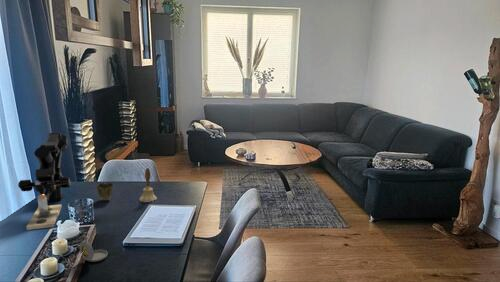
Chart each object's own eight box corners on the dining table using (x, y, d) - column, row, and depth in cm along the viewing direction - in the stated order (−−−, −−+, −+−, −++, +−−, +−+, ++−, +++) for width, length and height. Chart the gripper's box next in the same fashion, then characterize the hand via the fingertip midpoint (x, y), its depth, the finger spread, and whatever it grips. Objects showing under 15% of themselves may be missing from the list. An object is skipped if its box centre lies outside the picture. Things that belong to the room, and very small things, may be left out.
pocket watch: (110, 252, 116) (108, 225, 114) (100, 266, 108) (98, 238, 106) (87, 252, 116) (84, 225, 113) (75, 265, 107) (72, 237, 105)
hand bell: (158, 195, 168) (157, 165, 165) (155, 202, 160) (154, 170, 157) (141, 196, 167) (139, 165, 164) (137, 202, 159) (136, 170, 156)
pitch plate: (38, 209, 148) (38, 203, 147) (61, 207, 151) (61, 201, 150) (26, 229, 130) (26, 222, 129) (53, 226, 133) (52, 219, 132)
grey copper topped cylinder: (39, 214, 139) (37, 192, 137) (50, 213, 141) (48, 191, 139) (37, 218, 136) (34, 196, 134) (48, 217, 137) (46, 195, 135)
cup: (96, 203, 156) (95, 187, 155) (98, 197, 163) (97, 182, 162) (113, 202, 158) (112, 186, 157) (114, 196, 165) (114, 181, 164)
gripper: (16, 162, 137) (11, 196, 129) (67, 159, 143) (65, 191, 136) (24, 174, 146) (19, 207, 138) (71, 171, 152) (70, 202, 144)
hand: (43, 202), depth 139 cm, fingers closed, pressing on grey copper topped cylinder
